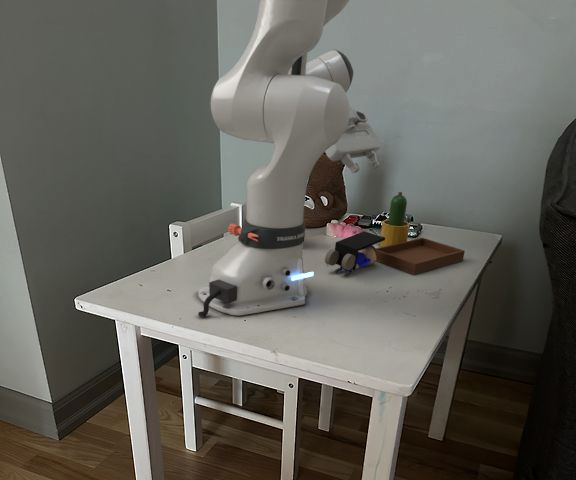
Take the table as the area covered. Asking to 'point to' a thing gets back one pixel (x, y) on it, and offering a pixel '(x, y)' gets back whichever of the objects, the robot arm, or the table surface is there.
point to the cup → (394, 233)
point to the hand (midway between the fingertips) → (366, 169)
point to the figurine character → (354, 252)
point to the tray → (419, 255)
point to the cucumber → (397, 210)
